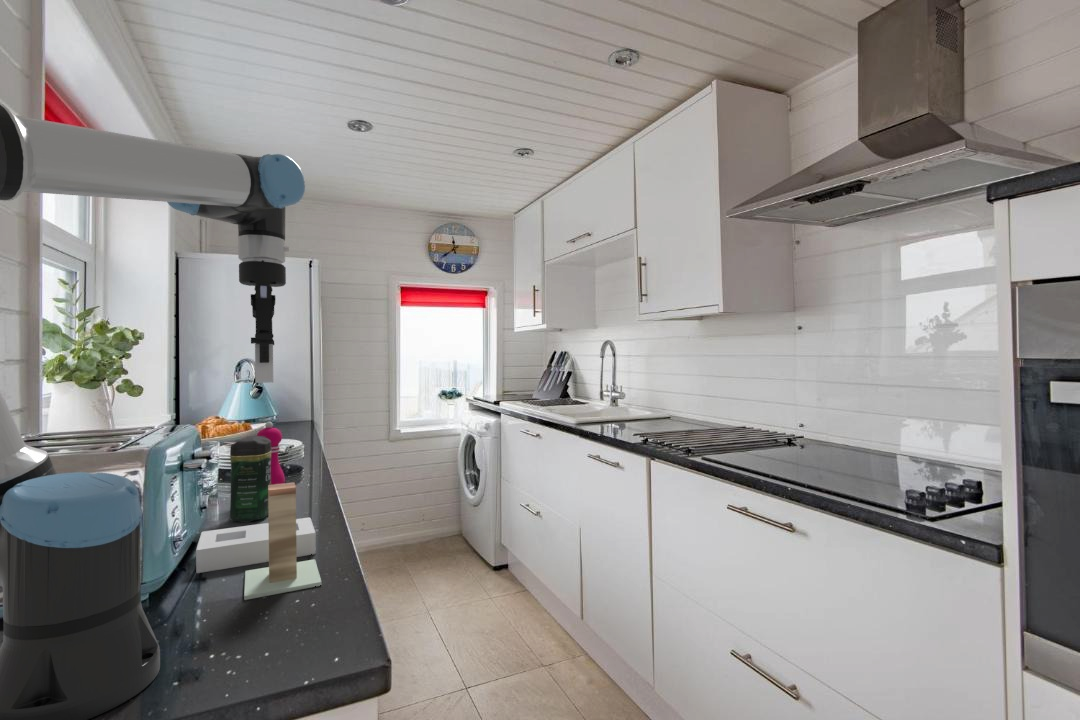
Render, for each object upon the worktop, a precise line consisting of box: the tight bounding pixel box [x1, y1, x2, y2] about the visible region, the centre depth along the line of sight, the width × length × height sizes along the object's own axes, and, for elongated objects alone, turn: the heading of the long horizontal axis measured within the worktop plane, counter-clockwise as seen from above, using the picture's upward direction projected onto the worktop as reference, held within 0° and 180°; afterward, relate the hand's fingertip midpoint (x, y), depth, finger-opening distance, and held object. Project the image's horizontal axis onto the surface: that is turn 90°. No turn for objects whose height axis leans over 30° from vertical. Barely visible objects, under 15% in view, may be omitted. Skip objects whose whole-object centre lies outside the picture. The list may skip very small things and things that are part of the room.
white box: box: [195, 517, 317, 574], centre depth 102 cm, size 11×19×4 cm, turn 118°
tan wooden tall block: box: [267, 482, 298, 583], centre depth 90 cm, size 4×4×15 cm
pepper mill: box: [256, 421, 286, 485], centre depth 142 cm, size 7×7×20 cm
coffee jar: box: [229, 435, 271, 523], centre depth 125 cm, size 10×8×19 cm
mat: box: [243, 559, 323, 601], centre depth 90 cm, size 11×11×1 cm
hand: (263, 381), depth 98 cm, fingers open, 13 cm apart
